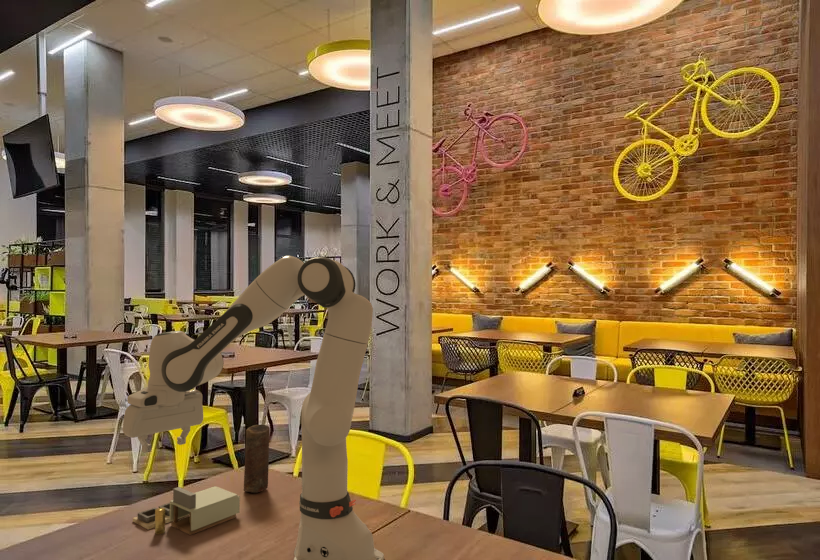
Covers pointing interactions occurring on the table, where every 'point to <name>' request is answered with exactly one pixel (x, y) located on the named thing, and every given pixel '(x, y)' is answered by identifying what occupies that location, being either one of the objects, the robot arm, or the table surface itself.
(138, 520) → the tan socket tray
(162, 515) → the pin
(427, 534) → the table surface
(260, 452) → the brown wooden log
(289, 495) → the table surface
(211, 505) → the lid
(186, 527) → the base
